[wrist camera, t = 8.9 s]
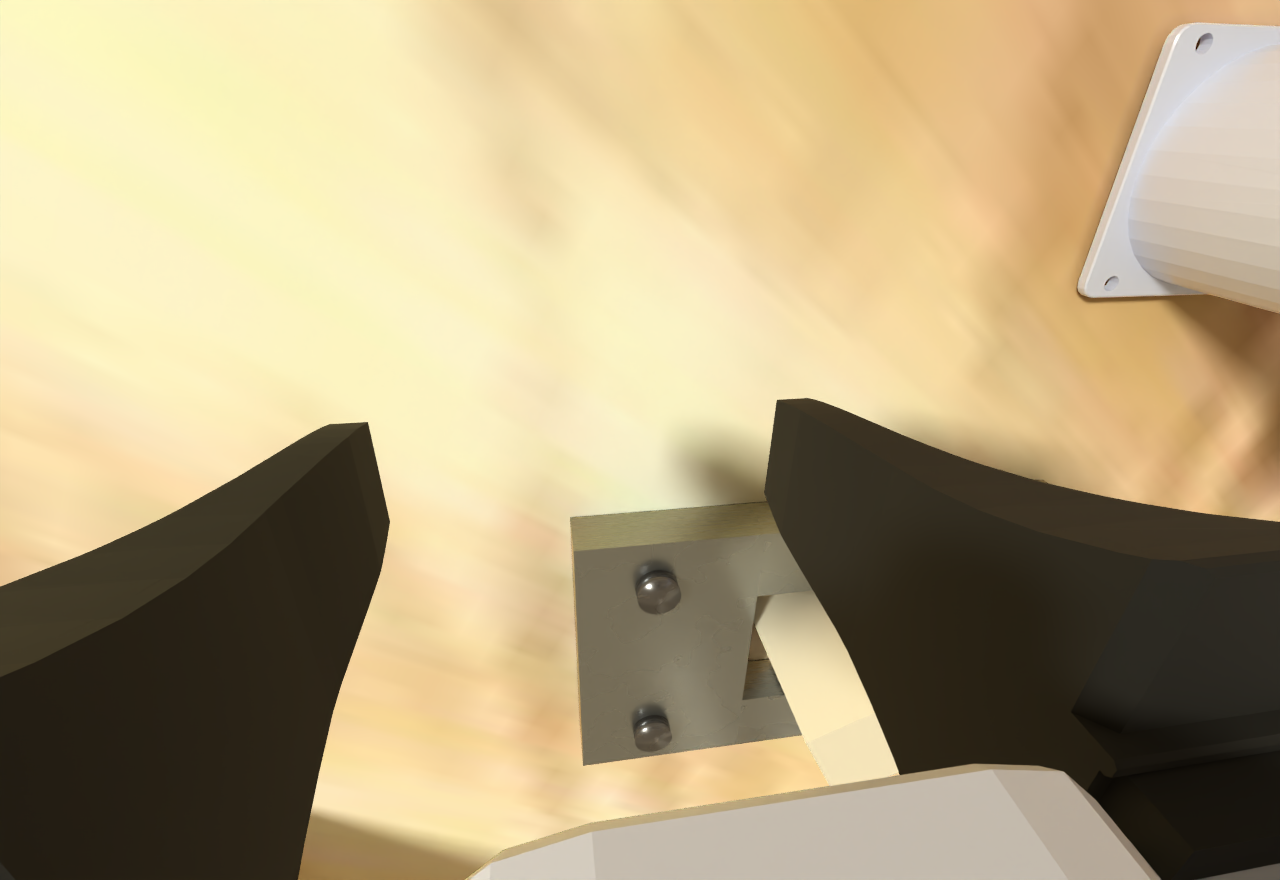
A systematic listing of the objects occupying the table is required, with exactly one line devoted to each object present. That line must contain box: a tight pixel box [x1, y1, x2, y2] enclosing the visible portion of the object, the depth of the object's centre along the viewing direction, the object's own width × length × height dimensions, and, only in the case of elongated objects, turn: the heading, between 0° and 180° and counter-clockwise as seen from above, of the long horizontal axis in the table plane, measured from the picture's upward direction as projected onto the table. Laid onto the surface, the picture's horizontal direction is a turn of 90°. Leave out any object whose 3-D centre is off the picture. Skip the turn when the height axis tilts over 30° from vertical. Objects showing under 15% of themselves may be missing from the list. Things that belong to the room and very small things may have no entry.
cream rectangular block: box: [753, 591, 899, 786], centre depth 24 cm, size 4×4×7 cm
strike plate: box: [570, 480, 1047, 766], centre depth 26 cm, size 20×12×3 cm, turn 89°
